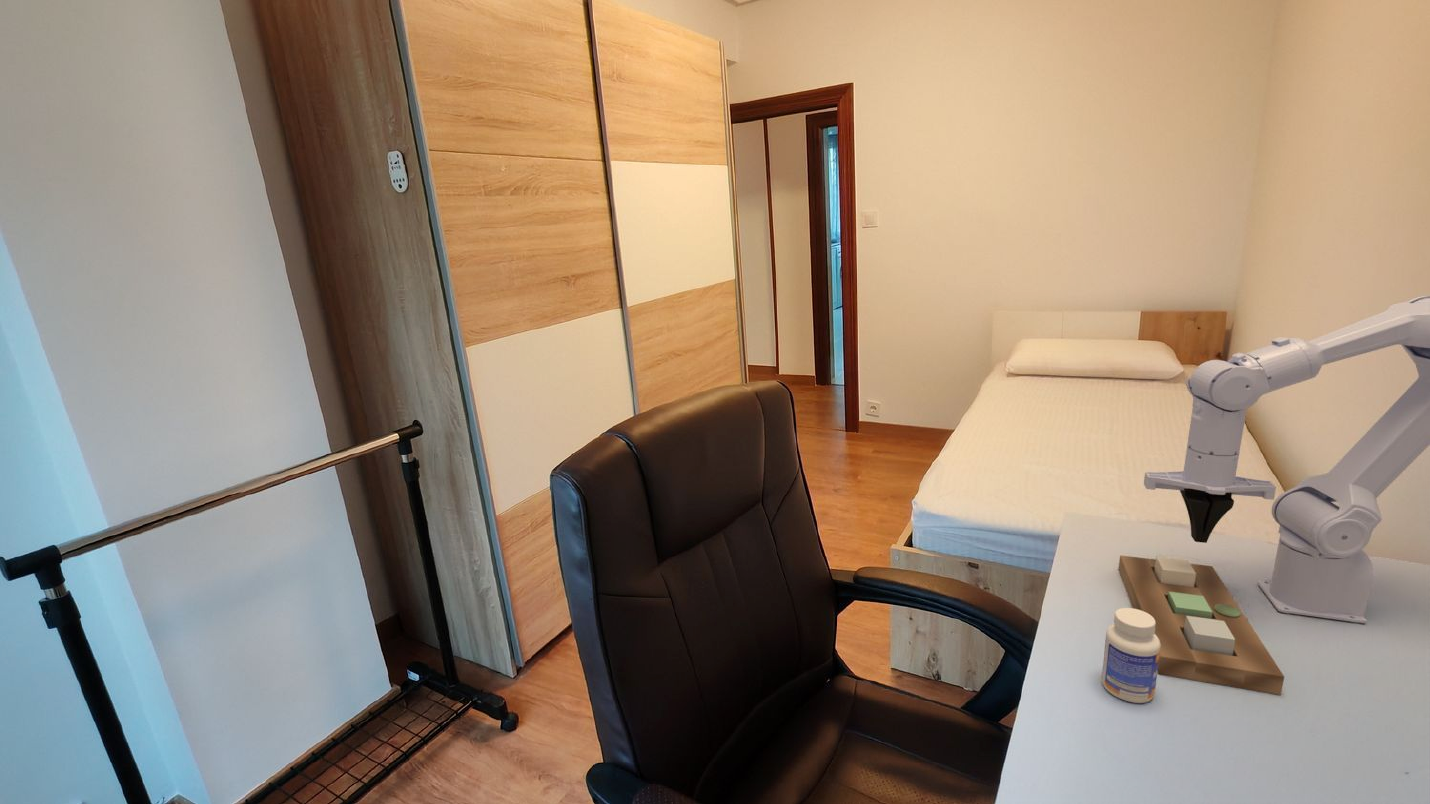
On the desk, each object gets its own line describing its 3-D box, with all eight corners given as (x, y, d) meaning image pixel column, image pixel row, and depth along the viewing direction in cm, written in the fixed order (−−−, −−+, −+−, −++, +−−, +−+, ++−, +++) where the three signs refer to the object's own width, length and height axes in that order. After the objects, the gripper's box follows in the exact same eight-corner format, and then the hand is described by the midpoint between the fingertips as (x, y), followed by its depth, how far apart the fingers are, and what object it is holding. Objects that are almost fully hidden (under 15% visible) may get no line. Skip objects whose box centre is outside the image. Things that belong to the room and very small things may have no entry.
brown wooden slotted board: (1209, 581, 98) (1212, 564, 97) (1280, 695, 75) (1284, 674, 74) (1118, 569, 102) (1120, 553, 102) (1158, 674, 79) (1161, 654, 78)
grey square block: (1220, 641, 82) (1224, 621, 81) (1231, 661, 78) (1235, 639, 78) (1183, 636, 83) (1186, 615, 83) (1191, 654, 80) (1195, 633, 79)
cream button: (1185, 578, 96) (1188, 560, 95) (1193, 592, 93) (1196, 573, 92) (1153, 574, 98) (1156, 556, 97) (1160, 587, 94) (1162, 569, 93)
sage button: (1200, 615, 89) (1203, 596, 89) (1209, 632, 86) (1212, 612, 85) (1166, 610, 91) (1168, 591, 90) (1173, 626, 87) (1176, 607, 87)
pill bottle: (1162, 707, 74) (1173, 633, 71) (1110, 702, 75) (1119, 629, 72) (1142, 675, 79) (1151, 605, 77) (1093, 671, 80) (1101, 602, 78)
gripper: (1157, 454, 87) (1145, 545, 91) (1292, 463, 82) (1273, 559, 85) (1145, 438, 93) (1134, 523, 97) (1270, 445, 88) (1253, 535, 92)
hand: (1198, 539), depth 92 cm, fingers closed
